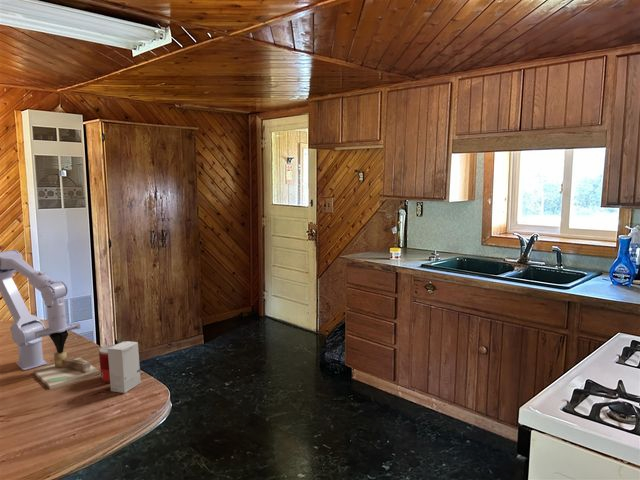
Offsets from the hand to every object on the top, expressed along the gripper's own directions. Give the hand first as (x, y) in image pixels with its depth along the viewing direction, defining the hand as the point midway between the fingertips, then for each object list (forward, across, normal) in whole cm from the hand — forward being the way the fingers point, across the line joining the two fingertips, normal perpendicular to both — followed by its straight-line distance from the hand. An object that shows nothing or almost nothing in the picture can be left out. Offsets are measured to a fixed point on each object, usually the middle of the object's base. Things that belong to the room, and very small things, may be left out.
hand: (60, 352), depth 169 cm
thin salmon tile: (+6, +4, -11) cm, 13 cm away
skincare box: (+7, +10, -31) cm, 33 cm away
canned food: (+7, +10, -21) cm, 24 cm away
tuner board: (+7, 0, -5) cm, 8 cm away
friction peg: (+5, +2, -5) cm, 8 cm away
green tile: (+6, -4, -11) cm, 13 cm away
